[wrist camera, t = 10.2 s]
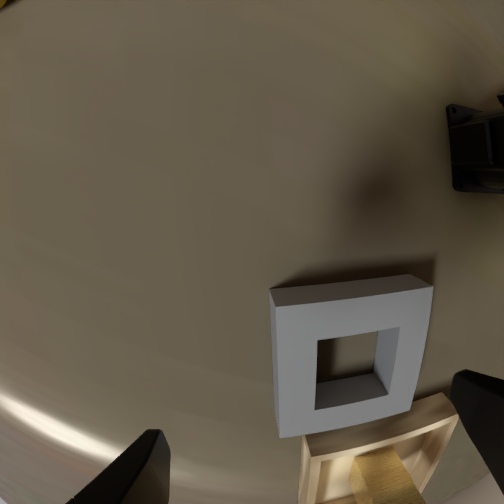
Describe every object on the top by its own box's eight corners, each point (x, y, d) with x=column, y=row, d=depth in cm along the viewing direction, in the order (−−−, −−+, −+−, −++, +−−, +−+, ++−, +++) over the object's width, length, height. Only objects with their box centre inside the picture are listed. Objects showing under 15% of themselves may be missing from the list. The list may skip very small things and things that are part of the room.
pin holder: (409, 273, 20) (433, 286, 17) (394, 389, 22) (409, 410, 19) (269, 289, 19) (275, 306, 16) (274, 411, 21) (279, 438, 18)
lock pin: (392, 446, 22) (430, 512, 13) (384, 469, 23) (415, 532, 14) (354, 456, 22) (385, 530, 13) (348, 479, 23) (373, 547, 14)
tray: (441, 392, 22) (460, 412, 19) (409, 475, 25) (420, 494, 22) (302, 427, 22) (311, 457, 18) (297, 504, 24) (302, 528, 21)
